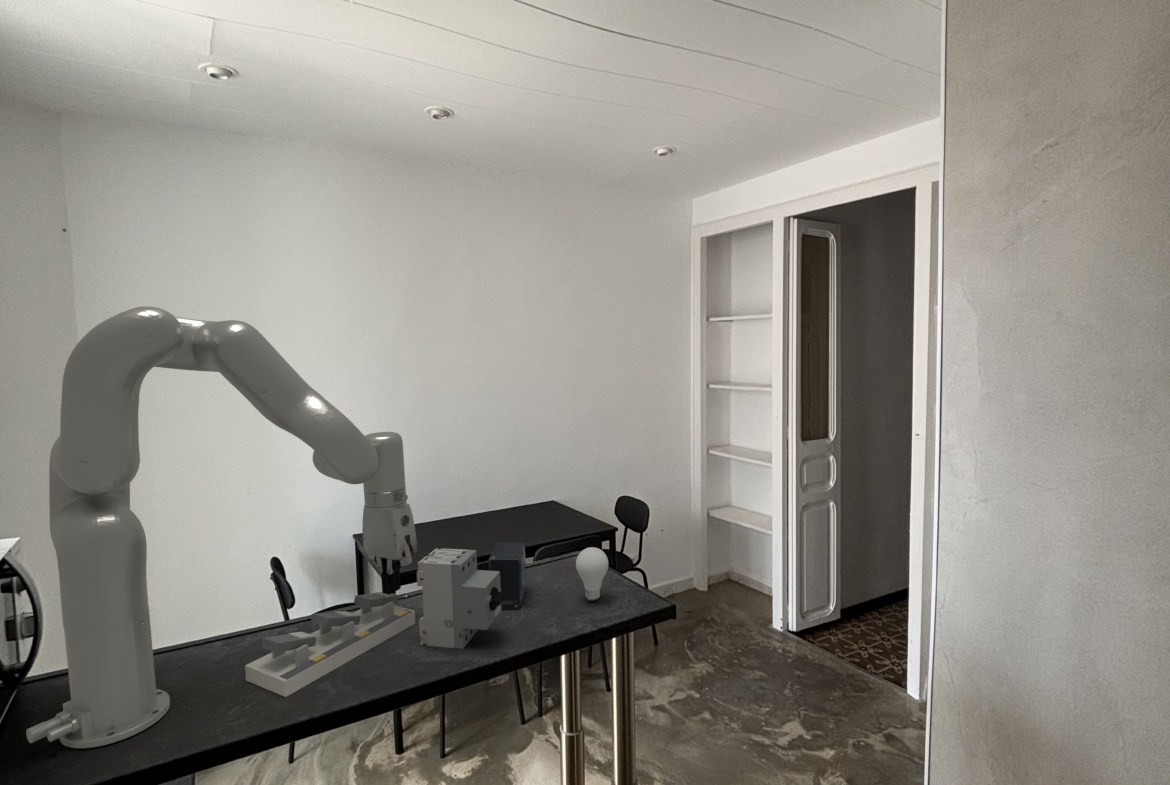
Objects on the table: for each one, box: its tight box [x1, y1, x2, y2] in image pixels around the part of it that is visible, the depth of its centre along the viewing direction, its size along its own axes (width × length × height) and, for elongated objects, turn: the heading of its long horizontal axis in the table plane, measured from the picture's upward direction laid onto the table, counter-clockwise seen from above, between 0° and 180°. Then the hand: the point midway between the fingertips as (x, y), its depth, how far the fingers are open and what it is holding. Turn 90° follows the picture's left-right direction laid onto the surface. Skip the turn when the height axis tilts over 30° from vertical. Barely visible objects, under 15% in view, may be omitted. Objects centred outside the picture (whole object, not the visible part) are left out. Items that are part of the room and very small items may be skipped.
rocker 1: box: [260, 631, 317, 653], centre depth 98 cm, size 7×4×2 cm, turn 151°
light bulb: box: [575, 546, 609, 602], centre depth 124 cm, size 7×7×11 cm
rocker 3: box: [353, 591, 400, 608], centre depth 114 cm, size 7×4×2 cm, turn 151°
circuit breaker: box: [416, 547, 506, 650], centre depth 109 cm, size 8×14×15 cm, turn 78°
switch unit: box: [244, 601, 416, 698], centre depth 106 cm, size 27×10×5 cm, turn 151°
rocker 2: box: [310, 610, 361, 627], centre depth 106 cm, size 7×4×2 cm, turn 151°
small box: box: [488, 541, 527, 610], centre depth 126 cm, size 11×6×10 cm, turn 179°
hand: (391, 590), depth 117 cm, fingers closed
